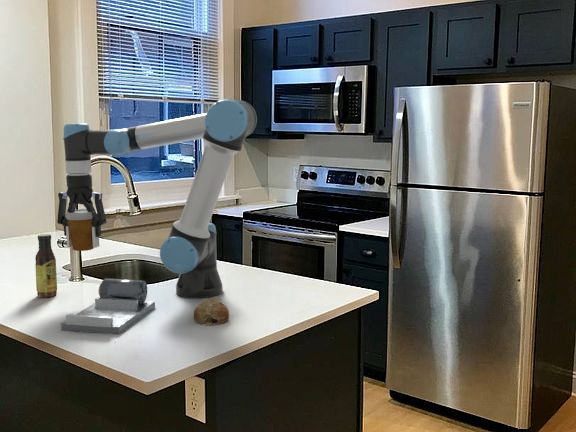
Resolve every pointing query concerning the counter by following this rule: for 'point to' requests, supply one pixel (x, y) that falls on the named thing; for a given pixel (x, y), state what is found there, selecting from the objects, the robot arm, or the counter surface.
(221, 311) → the bread roll
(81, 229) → the disposable coffee cup
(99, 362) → the counter surface
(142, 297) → the block
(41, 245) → the sauce bottle
